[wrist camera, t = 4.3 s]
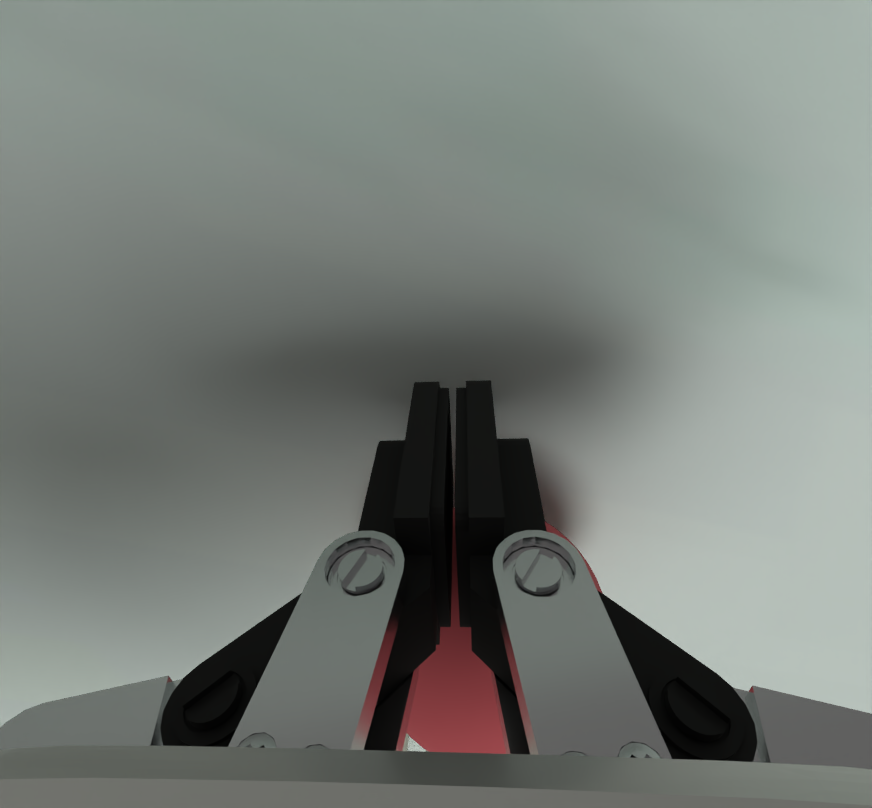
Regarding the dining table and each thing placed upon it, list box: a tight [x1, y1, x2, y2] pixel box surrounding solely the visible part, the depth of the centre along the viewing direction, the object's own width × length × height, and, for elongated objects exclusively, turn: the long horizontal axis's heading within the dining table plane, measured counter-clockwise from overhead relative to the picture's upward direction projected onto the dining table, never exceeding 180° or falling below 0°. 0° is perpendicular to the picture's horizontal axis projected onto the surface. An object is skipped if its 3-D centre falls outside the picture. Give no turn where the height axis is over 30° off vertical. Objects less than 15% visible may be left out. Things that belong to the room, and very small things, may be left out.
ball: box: [406, 508, 602, 754], centre depth 12 cm, size 6×6×6 cm
